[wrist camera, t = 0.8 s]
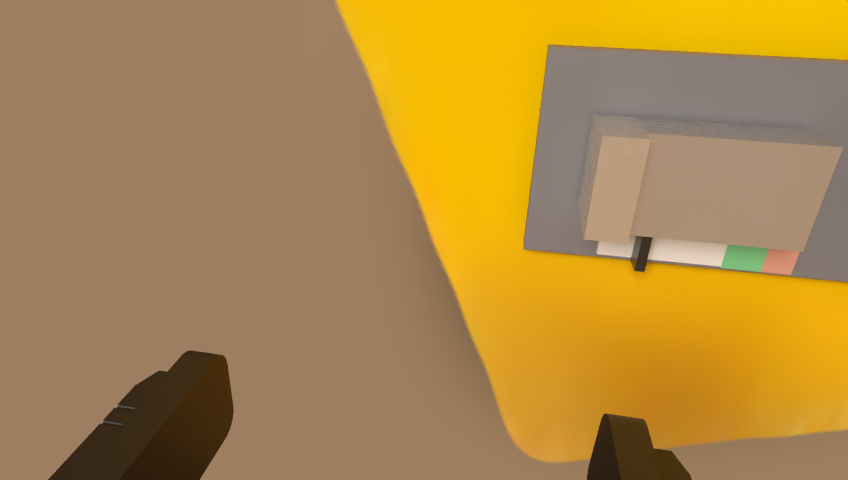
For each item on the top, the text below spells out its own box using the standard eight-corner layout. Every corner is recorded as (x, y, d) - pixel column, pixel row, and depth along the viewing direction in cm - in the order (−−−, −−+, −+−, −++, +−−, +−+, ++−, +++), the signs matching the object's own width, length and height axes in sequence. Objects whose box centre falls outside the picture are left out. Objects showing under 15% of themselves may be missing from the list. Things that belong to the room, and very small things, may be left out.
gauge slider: (810, 129, 26) (855, 154, 22) (760, 270, 29) (792, 312, 26) (592, 114, 27) (602, 135, 24) (569, 251, 31) (575, 288, 27)
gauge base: (1102, 73, 24) (1303, 109, 18) (980, 287, 29) (1104, 373, 23) (548, 44, 27) (555, 66, 21) (523, 241, 32) (523, 306, 26)
